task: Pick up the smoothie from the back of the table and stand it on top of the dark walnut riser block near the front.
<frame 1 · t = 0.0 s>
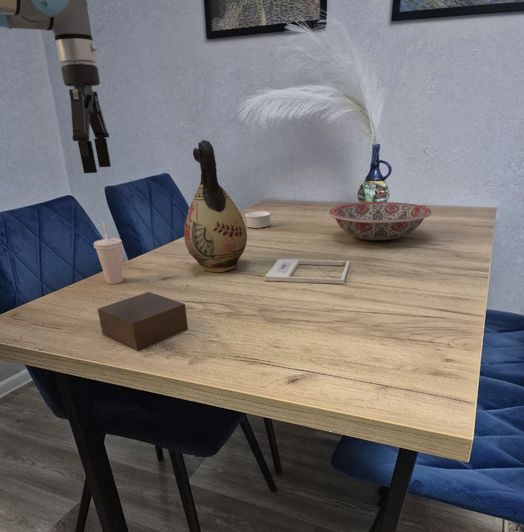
hand: (98, 169, 111), 24 cm above the table, tool pointing down, fingers open, 13 cm apart
ceramic jug: (218, 269, 120), on the table
smoothie: (115, 282, 113), on the table
ramekin: (258, 227, 162), on the table
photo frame: (308, 273, 113), on the table
riser: (145, 331, 86), on the table
ceramic bowl: (377, 238, 141), on the table
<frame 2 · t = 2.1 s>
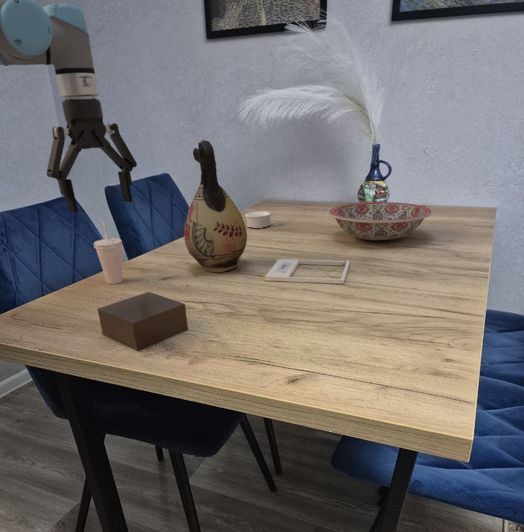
hand: (101, 206, 105), 18 cm above the table, tool pointing down, fingers open, 13 cm apart
nothing on the table moved.
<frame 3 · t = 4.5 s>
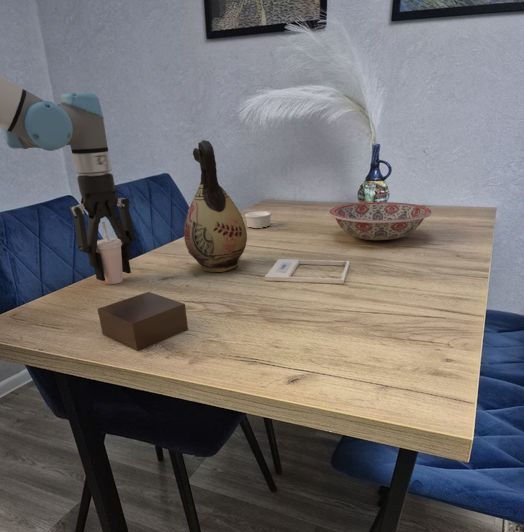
hand: (114, 275, 113), 1 cm above the table, tool pointing down, fingers closed on smoothie, 6 cm apart
smoothie: (115, 282, 113), on the table, touching gripper
everything else where it was.
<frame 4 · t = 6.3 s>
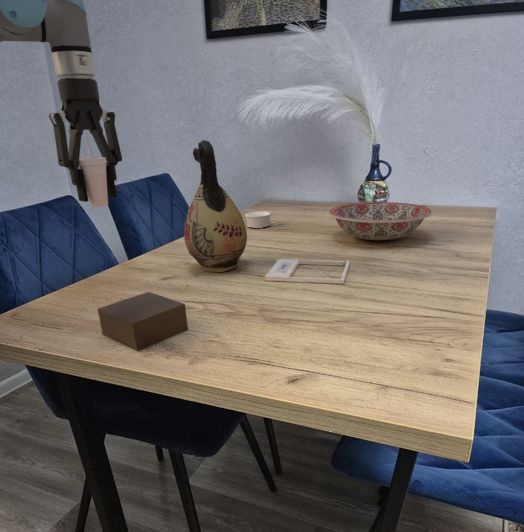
hand: (98, 198, 104), 19 cm above the table, tool pointing down, fingers closed on smoothie, 6 cm apart
smoothie: (99, 206, 105), point 18 cm above the table, touching gripper
everything else where it was.
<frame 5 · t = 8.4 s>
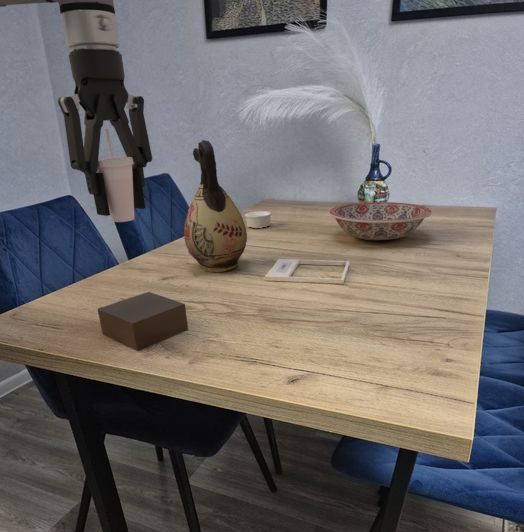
hand: (121, 211, 79), 21 cm above the table, tool pointing down, fingers closed on smoothie, 6 cm apart
smoothie: (123, 220, 80), point 19 cm above the table, touching gripper
everything else where it was.
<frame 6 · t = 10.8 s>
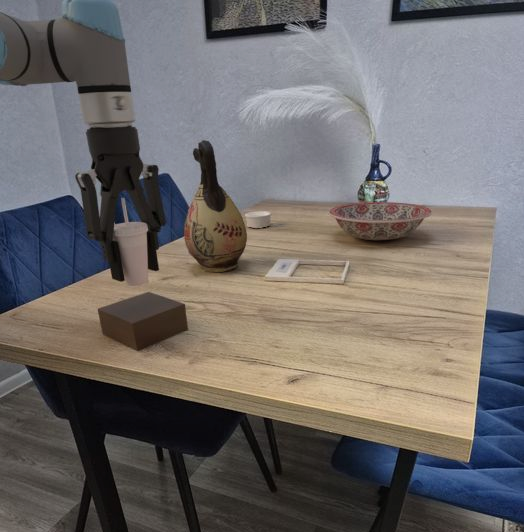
hand: (136, 274, 81), 11 cm above the table, tool pointing down, fingers closed on smoothie, 6 cm apart
smoothie: (137, 283, 82), point 9 cm above the table, touching gripper
everything else where it was.
when the fingers open (6 cm above the table, at t = 12.3 s): smoothie stays where it is, resting on riser.
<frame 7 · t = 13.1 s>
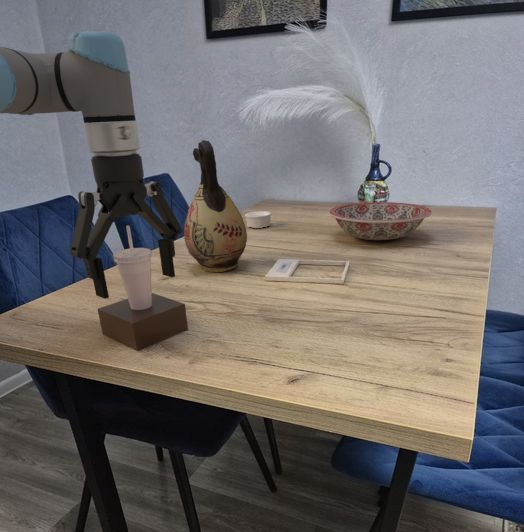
hand: (137, 285, 82), 9 cm above the table, tool pointing down, fingers open, 13 cm apart
smoothie: (141, 307, 84), point 5 cm above the table, touching riser
everything else where it was.
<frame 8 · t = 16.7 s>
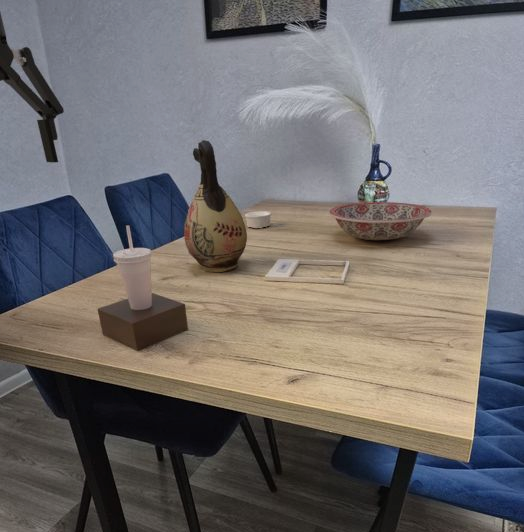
hand: (11, 166, 76), 29 cm above the table, tool pointing down, fingers open, 13 cm apart
nothing on the table moved.
at the end: smoothie inside the target area on the riser (0.0 cm from its centre), point 4.8 cm above the riser's base; smoothie tilted 0°; the gripper is holding nothing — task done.
